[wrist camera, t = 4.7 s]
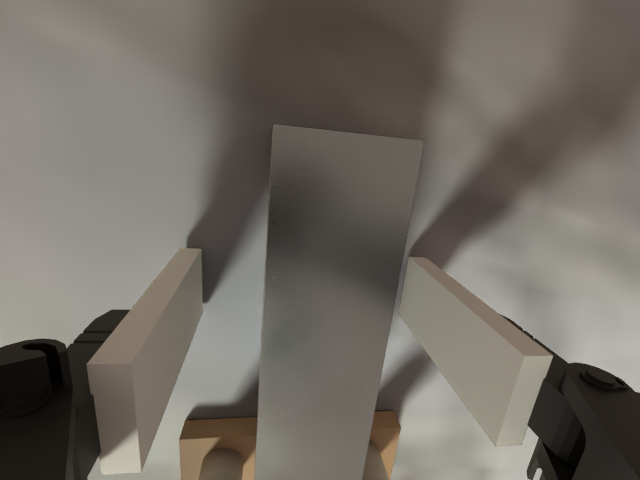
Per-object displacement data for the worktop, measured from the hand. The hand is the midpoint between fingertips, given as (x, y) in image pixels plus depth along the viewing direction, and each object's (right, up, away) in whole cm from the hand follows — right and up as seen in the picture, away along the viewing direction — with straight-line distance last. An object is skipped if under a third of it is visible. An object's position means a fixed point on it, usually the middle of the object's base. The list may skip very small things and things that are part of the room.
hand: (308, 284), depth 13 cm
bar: (0, 0, 0) cm, 1 cm away
